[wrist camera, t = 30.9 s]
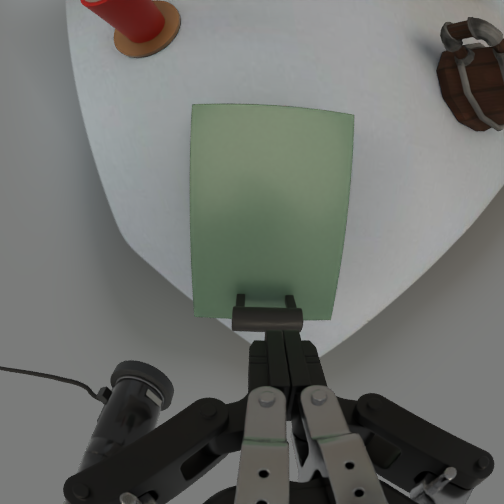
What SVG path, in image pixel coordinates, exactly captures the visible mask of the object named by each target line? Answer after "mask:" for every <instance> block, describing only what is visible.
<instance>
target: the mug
mask: <svg viewBox="0 0 504 504" xmlns="http://www.w3.org/2000/svg"><path fill="white" fill-rule="evenodd" d="M440 36H441V39H442V42H443V44H444V46H445V48H446V49H447V51H444V52H442V56H441V59H440V62H439V65H438V68H437V74H438V78H439V82H440V86H441V90H442V95H443V98H444V100H445V101H446V103H447V104H448V106H449V107H450V109H451V110H452V112H453V113H454V115H455V116H456V118H457V120H458V121H459V122H461V123H462V124H464V125H466V126H468V127H470V128H472V129H473V130H475V131H486V130H488V129H490V128H494V129H495V130H497V131H501V130H503V129H504V39H503V34H502V33H501V32H500V31H499V30H498V29H497V28H496V27H494V26H493V25H492V24H490V23H489V22H487V21H485V20H482V19H479V18H473V17H468V20H467V21H463V22H458V23H454V24H453V23H451V22H446V23H445V24H444V25H443V27H442V29H441V35H440ZM470 37H474V38H475V39H476V40H479V39H482V40H484V41H486V43H487V44H488V45H489V46H492V47H485V46H483V45H482V44H481V43H474V44H467V45H462V44H463V42H462V39H464V38H470Z"/></svg>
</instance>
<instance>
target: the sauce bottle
mask: <svg viewBox="0 0 504 504" xmlns="http://www.w3.org/2000/svg"><path fill="white" fill-rule="evenodd" d="M81 3H82V4H83V5H84V6H85V7H87V8H88V9H90V10H91V11H92V12H94V13H95V14H97V15H98V16H99V17H101V18H102V19H103V20H105V21H106V22H107V23H109V24H110V25H111V26H113V27H114V28H115V29H117V30H118V31H119V32H120V33H122V34H123V35H124V36H126V37H127V38H128V39H129V40H131V41H132V42H135V43H144V42H147V41H150V40H152V39H153V38H155V37H156V36H157V35H158V34H159V33H160V32H161V31H162V29H163V27H164V24H165V19H164V16H163V15H162V13H161V12H160V11H159V9H158V8H157V7H156V5H155V4H154V3H153V1H152V0H81Z"/></svg>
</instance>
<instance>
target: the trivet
mask: <svg viewBox="0 0 504 504" xmlns="http://www.w3.org/2000/svg"><path fill="white" fill-rule="evenodd" d="M153 3H154V4H155V5H156V7H157V8H158V9H159V11H160V12H161V13H162V15H163V16H164V19H165V24H164V27H163V29H162V31H161V32H160V33H159V34H158V35H157V36H156V37H155V38H153V39H152V40H150V41H147V42H144V43H135V42H132V41H131V40H129V39H128V38H127V37H126V36H124V35H123V34H122V33H120V32H119V31H118V30H117V29H115V32H114V43H115V46H116V48H117V49H118V50H119V51H120V52H121V53H123V54H124V55H126V56H129V57H134V58H140V57H146V56H150V55H153V54H155V53H157V52H159V51H160V50H162V49H163V48H165V47H166V46H167V45H168V44H169V43H170V42H171V41H172V40H173V39H174V38H175V36H176V35H177V33H178V31H179V28H180V23H181V19H180V15H179V13H178V11H177V9H176V8H175V7H174V6H173V5H172V4H170V3H168V2H165V1H158V0H156V1H153Z"/></svg>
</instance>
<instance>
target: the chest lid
mask: <svg viewBox="0 0 504 504" xmlns="http://www.w3.org/2000/svg"><path fill="white" fill-rule="evenodd" d="M353 136H354V115H352V114H346V113H340V112H333V111H326V110H318V109H310V108H301V107H290V106H277V105H259V104H193V105H192V117H191V143H190V241H191V269H192V288H193V305H194V316H195V317H209V318H228V319H232V331H253V332H265V331H266V330H299V332H301V330H302V327H303V320H331V316H332V311H333V306H334V300H335V295H336V289H337V284H338V278H339V272H340V265H341V259H342V252H343V245H344V238H345V230H346V222H347V213H348V204H349V194H350V183H351V170H352V156H353Z"/></svg>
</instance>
